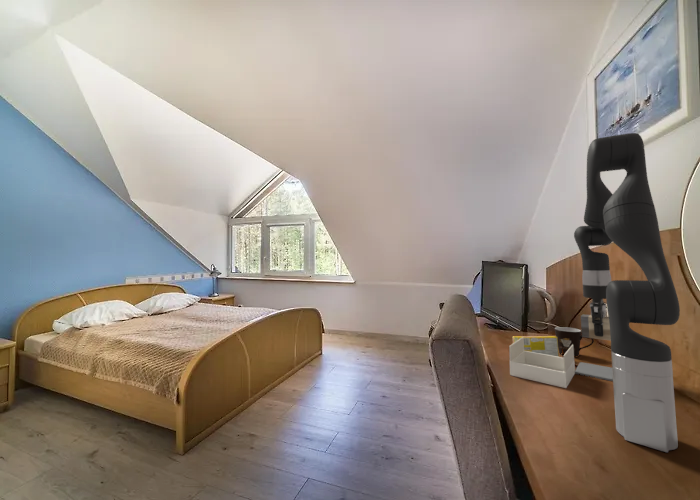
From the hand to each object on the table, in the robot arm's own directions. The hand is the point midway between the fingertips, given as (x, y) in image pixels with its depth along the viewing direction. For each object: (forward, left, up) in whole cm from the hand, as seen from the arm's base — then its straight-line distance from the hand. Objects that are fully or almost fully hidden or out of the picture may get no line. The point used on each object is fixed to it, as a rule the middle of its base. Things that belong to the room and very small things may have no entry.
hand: (599, 334), depth 97 cm
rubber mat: (0, 0, -13) cm, 13 cm away
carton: (-14, +14, -13) cm, 24 cm away
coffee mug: (+16, +10, -13) cm, 23 cm away
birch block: (0, 0, -1) cm, 1 cm away
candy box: (+4, +20, -13) cm, 24 cm away
